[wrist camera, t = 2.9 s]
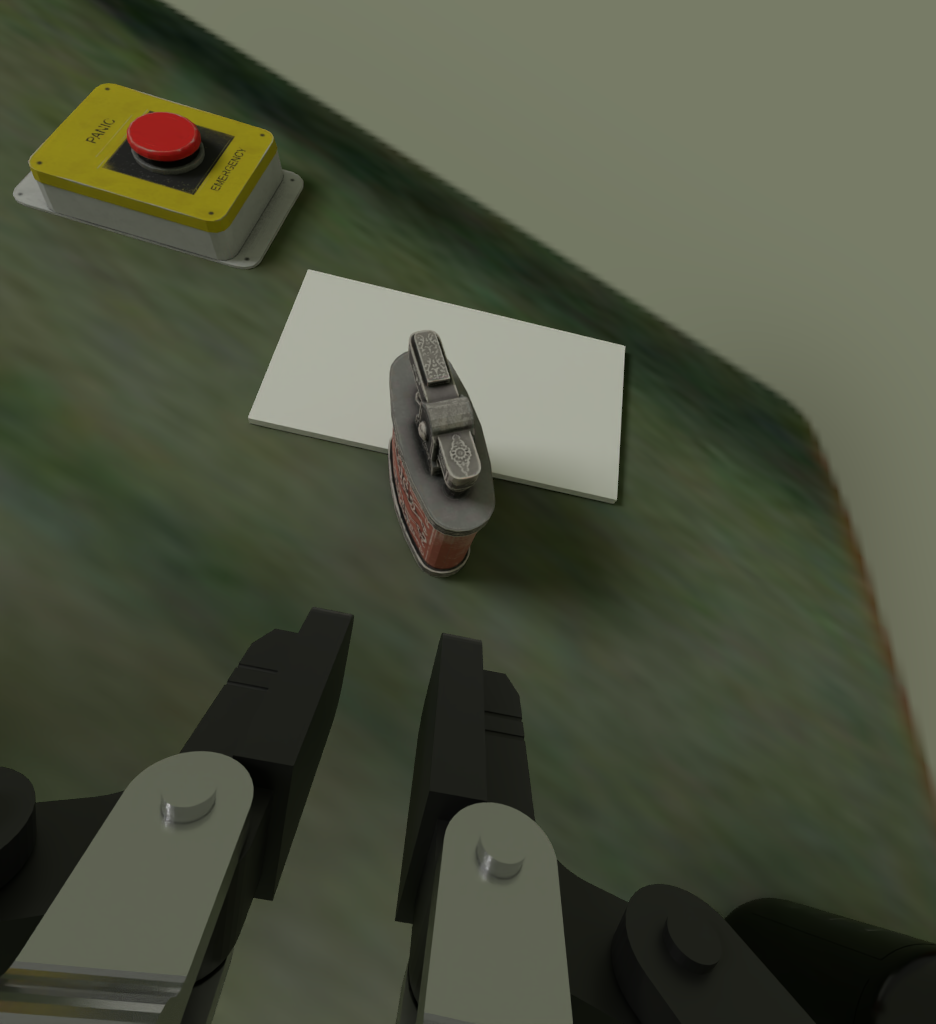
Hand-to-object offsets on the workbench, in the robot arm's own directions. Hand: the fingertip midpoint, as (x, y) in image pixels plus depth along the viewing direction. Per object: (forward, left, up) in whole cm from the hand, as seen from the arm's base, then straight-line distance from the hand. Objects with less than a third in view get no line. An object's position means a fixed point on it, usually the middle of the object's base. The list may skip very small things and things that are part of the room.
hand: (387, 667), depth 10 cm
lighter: (+11, 0, -16) cm, 19 cm away
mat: (+19, 0, -16) cm, 25 cm away
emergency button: (+29, +20, -17) cm, 39 cm away
